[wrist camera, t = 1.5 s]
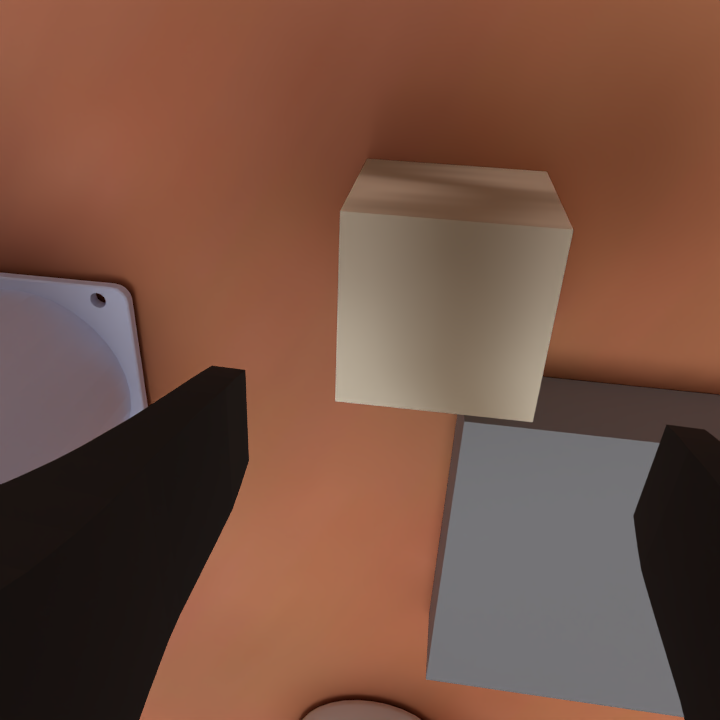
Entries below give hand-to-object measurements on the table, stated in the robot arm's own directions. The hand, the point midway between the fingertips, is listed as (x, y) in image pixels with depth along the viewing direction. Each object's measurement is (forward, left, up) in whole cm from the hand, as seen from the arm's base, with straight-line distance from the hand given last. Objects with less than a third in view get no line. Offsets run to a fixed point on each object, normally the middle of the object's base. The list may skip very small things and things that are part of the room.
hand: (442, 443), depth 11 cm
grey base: (+7, -10, -10) cm, 15 cm away
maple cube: (0, 0, -10) cm, 10 cm away
